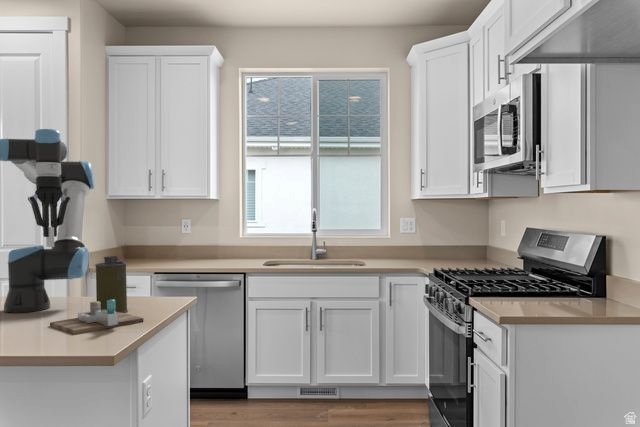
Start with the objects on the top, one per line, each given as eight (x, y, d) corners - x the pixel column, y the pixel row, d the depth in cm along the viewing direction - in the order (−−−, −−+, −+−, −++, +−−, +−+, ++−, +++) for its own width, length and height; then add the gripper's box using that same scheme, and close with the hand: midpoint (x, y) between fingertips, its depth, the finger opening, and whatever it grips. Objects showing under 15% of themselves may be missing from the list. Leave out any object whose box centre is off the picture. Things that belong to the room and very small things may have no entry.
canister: (116, 315, 182) (115, 257, 182) (89, 314, 185) (88, 257, 184) (134, 309, 193) (132, 254, 193) (108, 309, 195) (107, 254, 195)
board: (49, 326, 167) (49, 303, 167) (116, 314, 184) (116, 294, 184) (74, 334, 155) (74, 310, 155) (143, 321, 172) (143, 299, 172)
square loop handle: (77, 319, 169) (77, 296, 169) (103, 315, 175) (102, 293, 175) (100, 327, 157) (99, 302, 157) (126, 323, 163) (125, 298, 162)
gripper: (32, 174, 170) (33, 248, 170) (73, 176, 179) (75, 245, 180) (23, 176, 175) (25, 247, 175) (64, 177, 184) (65, 245, 185)
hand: (50, 246), depth 177 cm, fingers closed
